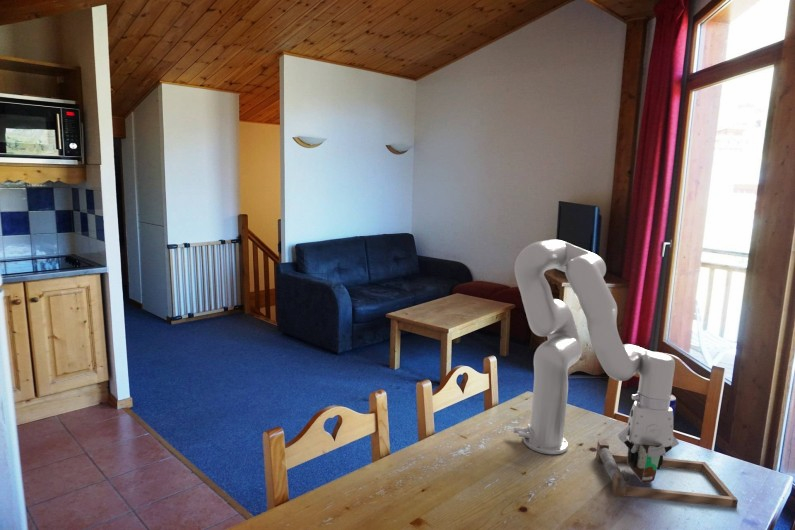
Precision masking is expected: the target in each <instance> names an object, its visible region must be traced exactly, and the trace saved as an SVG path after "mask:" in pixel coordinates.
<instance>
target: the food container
mask: <svg viewBox="0 0 795 530" xmlns="http://www.w3.org/2000/svg"><path fill="white" fill-rule="evenodd" d="M628 440H629V442H630V436H628ZM662 445H663V444H662ZM662 445H661V446H660V447H659V446H650V445H639V446H638V448H637V450H636V452H637V454H638V457H637V464H636V467H633V466H632V465H631V463H630V462H629V460H628V456H629V448H628V447H627V454H628V456H627V463H626V465H628V467H629V468H630V470H631V471H632V472H633V473H634V475H635V476H636V477H637V479H638V480H639V481H640V483H642V484H646V483H647V484H649V483H652V482H653V481H655V479H656V474H657V471H658V470H657V467H658V463H659V459H660V455H662V454H663V453H664V446H662Z"/></svg>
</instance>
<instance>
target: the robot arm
mask: <svg viewBox="0 0 795 530" xmlns="http://www.w3.org/2000/svg"><path fill="white" fill-rule="evenodd" d="M554 269H556V270H558V271H561V272H563V273H564V275H565V277H566V280H567V282H568V283H569V285H570V288H571V290H572V292H573V293H574V295H575V297H576V300H577V302H578V304H579V305H580V308H581V310H582V312H583V314H584V317H585V318H586V325H587V330H588V335H589V340H590V343H591V346H592V349H593V351H594V354H595V355H596V357H597V359H598V362H599V364H600V366H601V367H602V369H603V370H604V372H605V373H606V374H607V376H609V377H610V378H611V379H613V380H615V381H617V382H618V381H619V382H624V381H628V380H630V379H632V377H634V376H635V375H636V374H638V375H639V381H638V389H637V391H636V393H635V394H631V400H633V401H634V402H633V404H632V407H631V409H630V412H629V417H628V420H627V425H626V427H625V428H624V429H623V430H622V431H620V432H619V433H618V434H617V438H618V439H619V440H620V441H621V442H622V443H623V444H624V445H625V446H626V447H627V449H628V448H629V456H628V460H629V462H630V463H631V465H632V466H633V467H636V464H637V457H638V454H637V452H636V450H637V448H638V446H639V445H650V446H659V447H660V446H661V445H662V444H663V445H662V446H664V453H663V454H662V455H660V459H659V463H658V467H657V471H660V470H661V467H660V465H662V462H663V458H664V456H666V455H667V453H668V452H670V451H671V450H672V449H673V448H675V447H677V446H678V445H679V444H680V443H679V441H678V440H677V438H676V436H674V420H673V410H672V408H670V407H669V405H670V397H671V395H672V389H673V381H674V374H675V368H676V361H675V359H674V357H673V356H671V355H670V354H667V353H663V352H659V351H651V350H648V349H645V348H644V347H640V346H639V345H634V344H630V343H625V344H623V341H622V339H621V337H620V334H619V331H618V326H617V320H618V319H617V316H618V305H617V302H616V300H615V298H614V296H613V294H612V293H611V291H610V288H609V286H608V285H607V283H606V280H605V279H604V277H605V275H606V273H607V265H606V262H605V261H604V259H603V258H602V257H601V256H599V255H598V254H596V253H594V252H591V251H589V250H586V249H584V248H582V247H579V246H576V245H574V244H572V243H569V242H567V241H564V240H561V239H553V238H551V239H547V240H546V239H544V240H541V241H535V242H533V243H530V244H528V245H527V246H526V247H525V248H523V249H522V250H521V251H520V252H519V254H518V255H517V257H516V259H515V262H514V269H513V270H514V277H515V279H516V283H517V286H518V290H519V292H520V296H521V301H522V304H523V308H524V312H525V314H526V319H527V322H528V326H529V329H530V330H531V332H532V333H533V334H534V335H536V336H538V337H547V340H545V341H544V342H542V343H541V344H540V345H539V346H538V347H537V348H536V350H535V352H534V355H533V374H534V375H533V377H534V378H533V391H532V403H531V412H530V421H529V422H530V423H527V426H513V433H514V434H518V437H519V438H523V443H524V445H526V446H527V448H529V449H531V450H533V451H535V452H537V453H541V454H546V455H560V454H564V453H565V452H567V450H568V448H569V442H568V441H567V440H566V438H564V433H565V423H566V412H567V403H568V396H569V395H568V392H569V379H568V376H569V375H568V372H569V369H570V368H571V367H572V366H574V365H575V364H576V363H577V362H578V361H579V360H580V359H581V356H582V344H581V340H580V336H579V333H578V329H577V325H576V322H575V318H574V315H573V313H572V310H571V308H570V306H568V304H567V303H565V302H564V301H562V300H561V299H558V298H554V297H553V294H552V293H553V292H552V289H551V286H550V284H549V282H548V279H546V276H545V272H546V271H549V270H554ZM629 436H630V442H629V438H628V439H627V437H629Z"/></svg>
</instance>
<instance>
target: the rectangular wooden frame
mask: <svg viewBox="0 0 795 530" xmlns="http://www.w3.org/2000/svg"><path fill="white" fill-rule="evenodd" d="M609 448H610V445H609V443H608V441H606V440H597V446H596V453H595V457H596V460H597V462H601V463H603V465H604V467H605V469H606V472H607V473H608V475H609V477H610V479H611V481H612V489H611V491H612V493H613V495H614V496H615V497H622V498H625V497H634V498H642V499H643V498H644V499H654V500H661V501H663V500H664V501H669V502H670V501H672V502H681V503H690V504H697V505H699V504H700V505H709V506H718V507H719V506H720V507H726V508H737V507H738V501H739V500H738V499H737V497H736V496H735V495H734V494H733V493H732V491H731V490H730V489H729V488H728V487H727V486H726V485H725V483H724V482H723V481H722V480H721V479H720V478H719V476H718V475H717V474H716V473H715V472H714V471H713V469H712V468H710V466H709V464H707V463H706V462H705V461H697V460H686V459H678V458H677V459H676V458H668V457H667V458H666V457H663V462H662V465H660V468H671V469H672V468H673V469H679V470H680V469H681V470H692V471H700V472H702V474H703V475H704V476H705V477H706V478H707V479H708V480H709V482H710V483H711V484H712V486H713V487H715V489H716V490H717V492H719V494H720V495H717V494H710V493H709V494H707V493H701V492H699V493H698V492H689V491H681V490H679V491H678V490H671V489H661V488H660V489H659V488H653V487H651V488H650V487H641V486H631V485H628V484H627V483H628V482H629V481H630V477H629V475H628V473H627V472H626V470H621V469H620V467H619V465H618V464H617V463H620V464H622V463H623V464H627V456H628V453H627V454H626V453H618V452H611V451H610V449H609Z"/></svg>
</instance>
